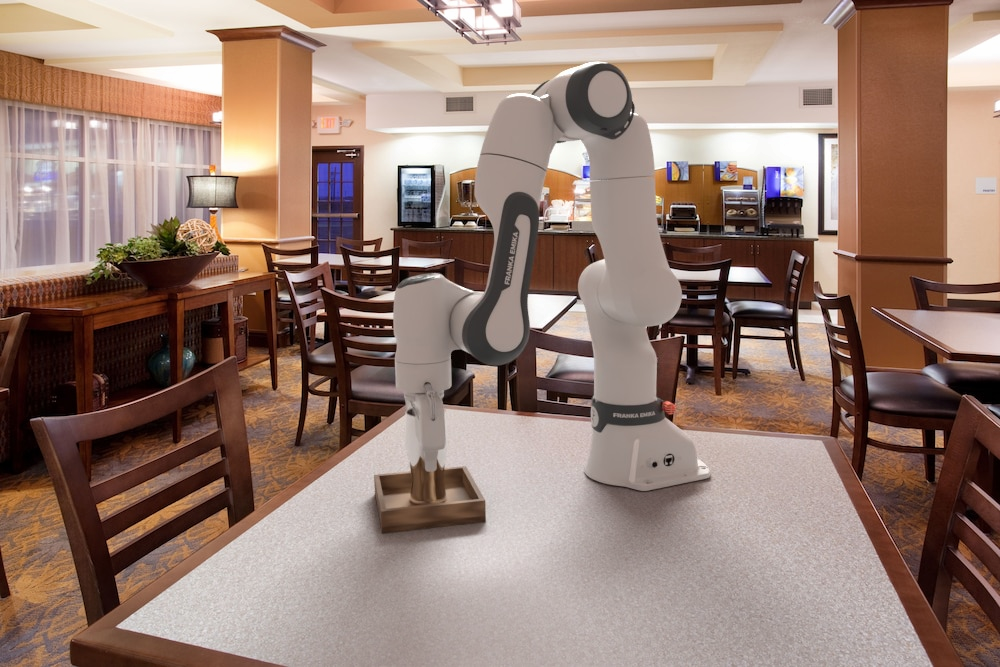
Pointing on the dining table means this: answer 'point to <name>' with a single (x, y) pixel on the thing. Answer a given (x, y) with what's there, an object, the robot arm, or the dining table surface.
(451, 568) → the dining table surface
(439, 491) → the beer glass
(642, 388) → the robot arm
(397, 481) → the walnut tray
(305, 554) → the dining table surface
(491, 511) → the dining table surface
